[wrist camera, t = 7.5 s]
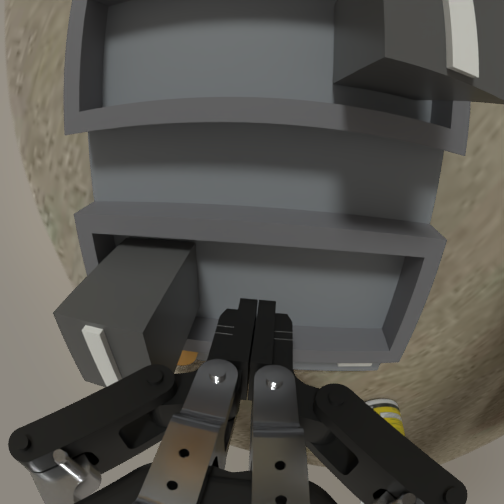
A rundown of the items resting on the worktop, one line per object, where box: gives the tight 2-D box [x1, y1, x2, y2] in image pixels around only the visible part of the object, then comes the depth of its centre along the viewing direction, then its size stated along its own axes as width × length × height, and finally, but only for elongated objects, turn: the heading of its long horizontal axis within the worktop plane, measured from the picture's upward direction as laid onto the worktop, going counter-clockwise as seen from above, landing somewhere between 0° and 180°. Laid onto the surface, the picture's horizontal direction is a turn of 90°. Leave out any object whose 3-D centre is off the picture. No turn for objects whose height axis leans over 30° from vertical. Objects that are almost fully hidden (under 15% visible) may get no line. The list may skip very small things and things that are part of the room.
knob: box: [333, 0, 504, 104], centre depth 6 cm, size 4×4×7 cm
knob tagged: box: [53, 238, 200, 387], centre depth 13 cm, size 4×4×7 cm
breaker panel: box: [64, 0, 471, 371], centre depth 13 cm, size 18×26×4 cm
